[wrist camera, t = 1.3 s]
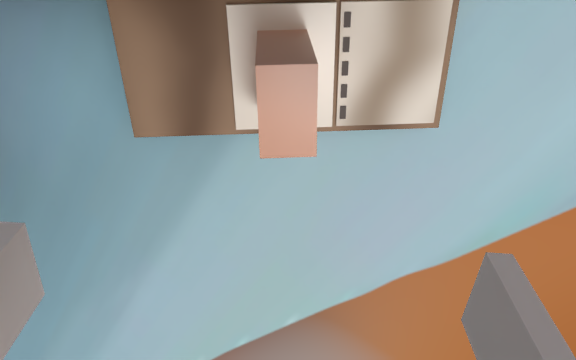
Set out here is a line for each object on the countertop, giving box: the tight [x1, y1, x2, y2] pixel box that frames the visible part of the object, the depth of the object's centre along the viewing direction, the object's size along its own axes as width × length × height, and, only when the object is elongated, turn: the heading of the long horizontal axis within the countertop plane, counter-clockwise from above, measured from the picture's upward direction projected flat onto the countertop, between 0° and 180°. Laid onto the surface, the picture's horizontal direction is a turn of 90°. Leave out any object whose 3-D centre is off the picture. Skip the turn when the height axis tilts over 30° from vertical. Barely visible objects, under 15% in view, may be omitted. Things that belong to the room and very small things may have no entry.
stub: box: [226, 2, 337, 158], centre depth 27 cm, size 6×8×7 cm
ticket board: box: [106, 0, 459, 137], centre depth 30 cm, size 21×9×2 cm, turn 91°
